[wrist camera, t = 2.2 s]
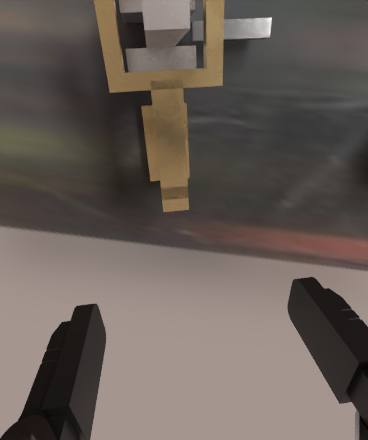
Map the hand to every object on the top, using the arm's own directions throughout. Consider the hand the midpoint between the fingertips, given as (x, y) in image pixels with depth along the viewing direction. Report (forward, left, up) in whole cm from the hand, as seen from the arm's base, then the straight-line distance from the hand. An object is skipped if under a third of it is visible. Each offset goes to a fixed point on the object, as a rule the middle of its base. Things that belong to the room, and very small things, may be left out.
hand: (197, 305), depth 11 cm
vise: (-11, +3, -18) cm, 22 cm away
